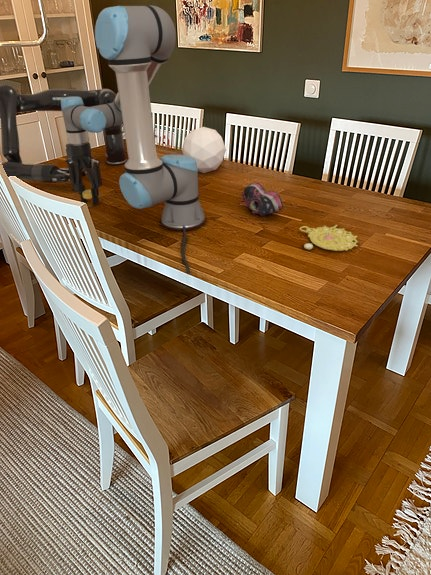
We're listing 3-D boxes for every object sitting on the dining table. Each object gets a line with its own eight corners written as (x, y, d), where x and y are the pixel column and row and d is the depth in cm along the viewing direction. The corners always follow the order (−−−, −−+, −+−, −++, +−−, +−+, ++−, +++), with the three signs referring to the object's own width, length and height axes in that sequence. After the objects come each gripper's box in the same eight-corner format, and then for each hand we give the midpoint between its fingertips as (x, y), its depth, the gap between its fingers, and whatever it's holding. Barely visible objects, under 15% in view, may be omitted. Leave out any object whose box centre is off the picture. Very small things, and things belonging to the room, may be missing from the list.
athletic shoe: (254, 181, 170) (227, 189, 167) (283, 176, 151) (253, 185, 147) (260, 210, 173) (234, 218, 170) (290, 209, 154) (261, 219, 150)
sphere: (210, 188, 203) (207, 161, 184) (176, 167, 208) (170, 139, 189) (234, 159, 208) (234, 131, 189) (200, 139, 213) (197, 110, 194)
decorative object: (343, 255, 128) (285, 234, 139) (342, 262, 130) (284, 241, 140) (372, 230, 142) (317, 213, 152) (371, 237, 143) (316, 219, 153)
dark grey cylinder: (71, 190, 187) (62, 145, 177) (78, 187, 190) (69, 142, 180) (79, 191, 185) (70, 146, 175) (86, 188, 188) (77, 143, 178)
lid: (98, 195, 173) (97, 191, 172) (88, 199, 170) (87, 195, 169) (89, 193, 175) (88, 188, 174) (80, 197, 172) (79, 192, 171)
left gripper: (33, 169, 179) (71, 171, 176) (52, 159, 191) (88, 161, 187) (38, 187, 183) (75, 190, 180) (56, 176, 195) (91, 178, 191)
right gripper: (105, 141, 162) (115, 201, 174) (64, 138, 167) (76, 197, 179) (94, 147, 156) (105, 209, 168) (52, 143, 161) (65, 204, 173)
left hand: (82, 175), depth 184 cm, fingers closed on dark grey cylinder, 4 cm apart
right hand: (90, 202), depth 174 cm, fingers closed on lid, 5 cm apart
